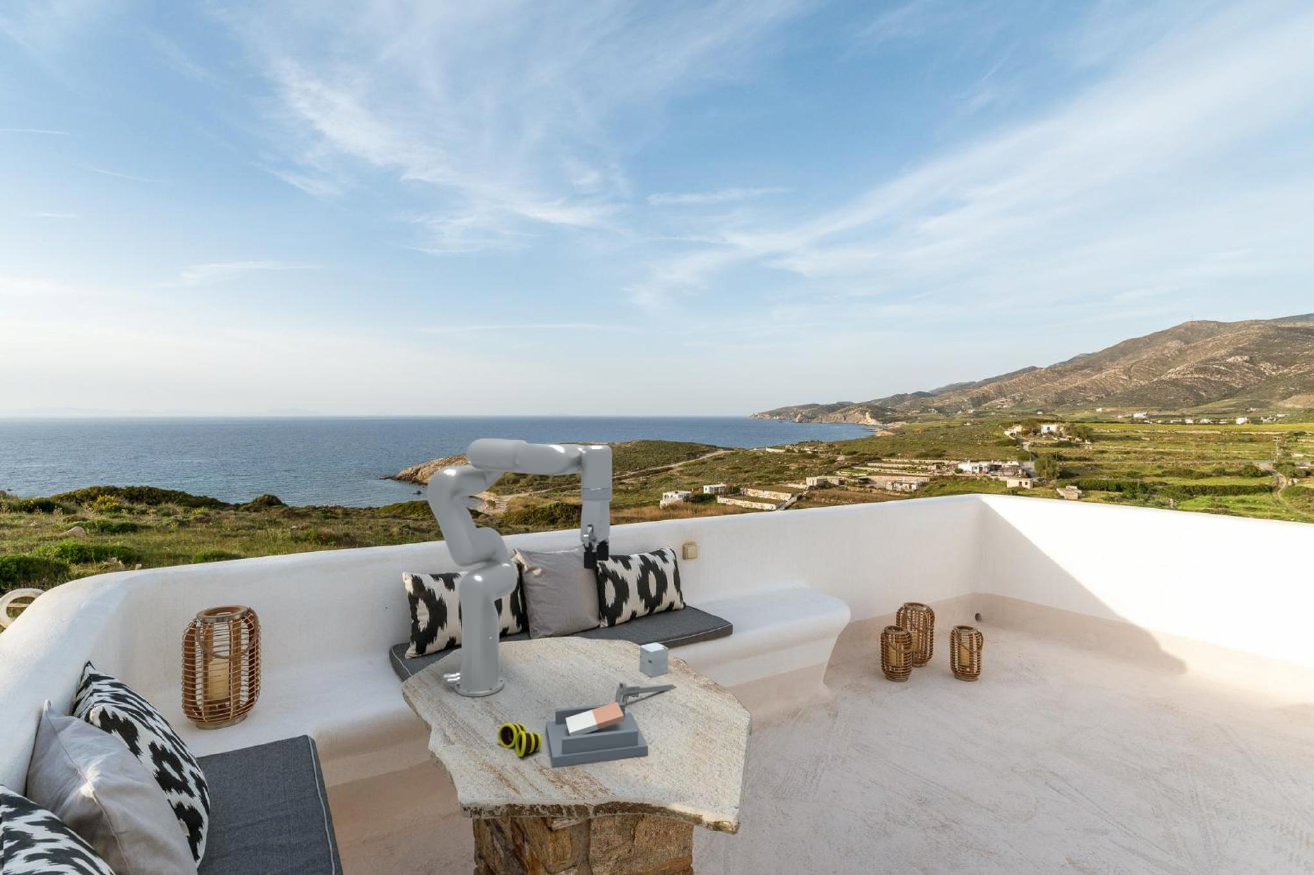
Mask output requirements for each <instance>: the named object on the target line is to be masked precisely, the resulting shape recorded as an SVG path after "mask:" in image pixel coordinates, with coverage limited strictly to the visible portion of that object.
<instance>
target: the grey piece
mask: <svg viewBox="0 0 1314 875" xmlns="http://www.w3.org/2000/svg"><path fill="white" fill-rule="evenodd" d="M621 702H622V701H621ZM609 704H610V703H605V704H595V705H585V706H584V705H583V706H573V707H565V708H555V710H554V711H555V715H554V716H555V718H554V720H549V721H546V722H545V732H546V738H547V744H548V748H549V749H548V750H549V753H550V754H549V755H550V760H551V764H552V768H559V767H565V766H575V765H581V764H591V763H597V762H606V761H612V760H621V759H629V758H637V757H636V756H639V757H645V755H647V756H648V755H649V745H648V743H647V741H646V738H645V737H644V735H643V734H642V731H641V729H640V727H639V725H638V723H637V721H636V718H634V715H633V714H632V712H626V705H625V704H624V702H622V703H618V705H619V707H620V709H621V711H622V713H623V715H624V720H625V721H623V722H619V723H616V724H613V725H610V726H607V727H604V728H601V729H598V730H595V731H592V732H589V733H586V734H583V735H575V736H570V734H569V731H568V727H567V723H566V718H568V717H571V716H574V715H577V714H580V713H584V712H587V711H590V710H593V709H596V708H599V707H603V706H606V705H609Z"/></svg>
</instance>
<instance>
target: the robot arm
mask: <svg viewBox="0 0 1314 875" xmlns="http://www.w3.org/2000/svg"><path fill="white" fill-rule="evenodd" d="M465 456H466V459H467V462H468V463H469V464H466V465H451V466H450V465H449V466H445V467H442V468H440V469H438V470H437V471H435V472H434V473H433V474H432V475H431V477H430V479H429V481H428V483H427V488H426V497H427V498H426V499H427V502H428V505H429V507H430V509H431V511H432V513H433V515H434V517H435V518H436V521H437V523H438V526H439V528H440V531H441V534H442V535H443V539H444V541H445V543H446V546H447V549H448V551H449V553H450V557H451V559H452V561H453V563H454V564H455V565H457V566H458V567H461V568H465V567H466V568H467V567H472V566H475V565H478V564H480V566H481V567H479V568H477V569H473V570H471V571H470V572H468V573H466V574H465V575H464V576H463V577H462V579H461V580H460V582H459V585H458V597H459V601H460V609H461V667H460V669H459V671H456V672H455V673H454V672H453V673H450V672H448V673H444V674H443V682H447V684H448V685H449V684H454V690H455V692H456V693H457V694H459V695H461V696H464V697H482V696H489V695H492V694H495V693H498V692H499V691H501V690H502V689H503V688H504V686H505V679H504V678H503V677H502V676H500V675H499V666H500V665H499V663H500V662H499V661H500V660H499V659H500V658H499V656H500V653H499V652H500V617H499V613H498V610H497V607H496V605H495V604H496V603H495V601H497V600H499V599H502V598H504V597H506V596H509V595H510V594H512V593H513V592H514V591H515V589H516V587H517V584H518V576H517V575H518V574H517V570H516V568H515V565H514V564H513V561H512V558H511V556H510V553H509V551H508V548H507V546H506V543H505V541H504V539H503V537H502V536H501V534H500V533H499V532H498V531H497V530H496V529H494V528H492V527H487V526H483V527H477V526H476V525H475V522H474V520H473V517H472V515H471V513H470V510H469V509H468V508H467V507H466V505H465V504H464V503H462V501H461V500H460V497H468V496H476V495H479V494H482V493H484V492H485V491H487V490H488V489H490V488H491V487H492V486H493V485H494V484H495V483H496V482H497V481H498V480H499V479H500V478H501V477H502V476H503V475H504V474H505V473H506V472H507V473H518V474H530V475H540V476H541V475H542V476H544V475H545V476H564V475H573V474H574V475H575V474H580V476H581V478H580V479H581V481H580V482H581V484H580V488H581V489H580V490H581V491H580V492H581V495H580V496H581V497H580V498H581V502H582V506H581V516H580V537H579V538H580V539H579V540H580V542H581V543H583V544H582V545H583V568H584V569H586V570H596V569H598V562H599V561H600V562H601V561H602V562H608V561H609V559H610V545H609V544H610V540H609V537H610V536H611V535H610V534H611V518H610V517H611V515H610V502H612V500H613V453H612V448H611V447H610V446H609V445H603V444H591V445H589V444H587V445H583V444H575V443H561V444H557V443H556V444H555V443H554V444H550V443H549V444H547V443H546V444H545V443H529V442H527V441H526V440H523V439H505V438H485V437H484V438H479V439H476V440H474V441H473V442H471V443H470V444H469V445H468V447H467V449H466V454H465Z"/></svg>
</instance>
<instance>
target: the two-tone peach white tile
mask: <svg viewBox="0 0 1314 875" xmlns="http://www.w3.org/2000/svg"><path fill="white" fill-rule="evenodd" d="M608 704H609V705H606V706H603V707H599V708H596V709H593V710H590V711H587V712H584V713H580V714H577V715H574V716H571V717H568V718H566V723H567V727H568V731H569V734H570V736H575V735H583V734H586V733H589V732H592V731H595V730H598V729H601V728H604V727H607V726H610V725H613V724H616V723H619V722H623V721H625V720H624V715H623V713H622V711H621V709H620V707H619V705H618V702H615V701H614V702H612V703H608Z"/></svg>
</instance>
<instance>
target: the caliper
mask: <svg viewBox="0 0 1314 875" xmlns="http://www.w3.org/2000/svg"><path fill="white" fill-rule="evenodd" d="M676 688H677V686H676V685H674V683H671V682H670V683H661V684H660V683H659V684H653V685H642V686H640V685H638V684H636V685H635V684H634V685H627V683H626V682H619V686H618V687H617V689H616V693H615V699H614V700H615V701H614V703H615V702H618V703H622V702H624V704H625V706H626V705H627V703H628V701H629V698H630V697H631V698H639V696H640V694H648V693H657V692H666V691H670V690H673V689H676Z"/></svg>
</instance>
